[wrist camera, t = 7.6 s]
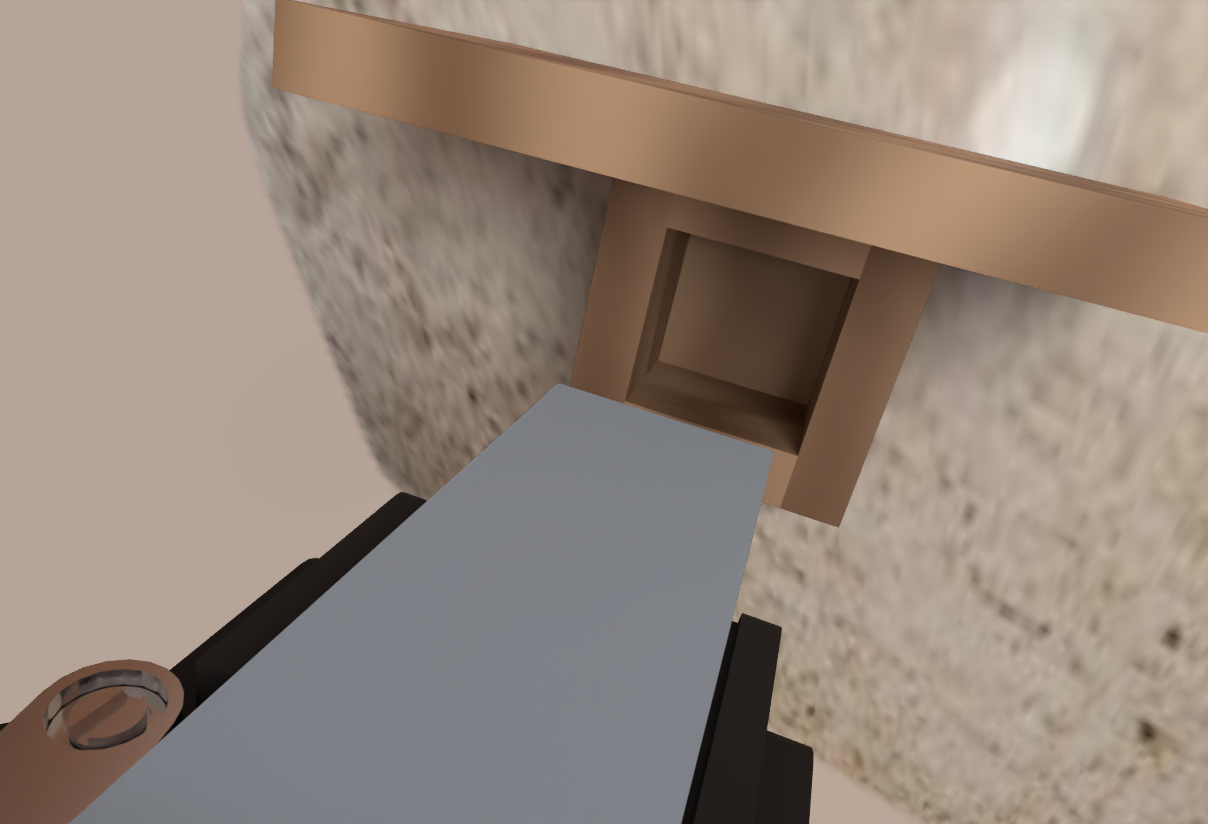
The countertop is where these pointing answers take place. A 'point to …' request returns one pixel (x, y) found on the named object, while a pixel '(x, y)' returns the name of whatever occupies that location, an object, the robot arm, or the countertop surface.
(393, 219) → the countertop surface
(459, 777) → the plain blue gray block
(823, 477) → the small wooden stand
